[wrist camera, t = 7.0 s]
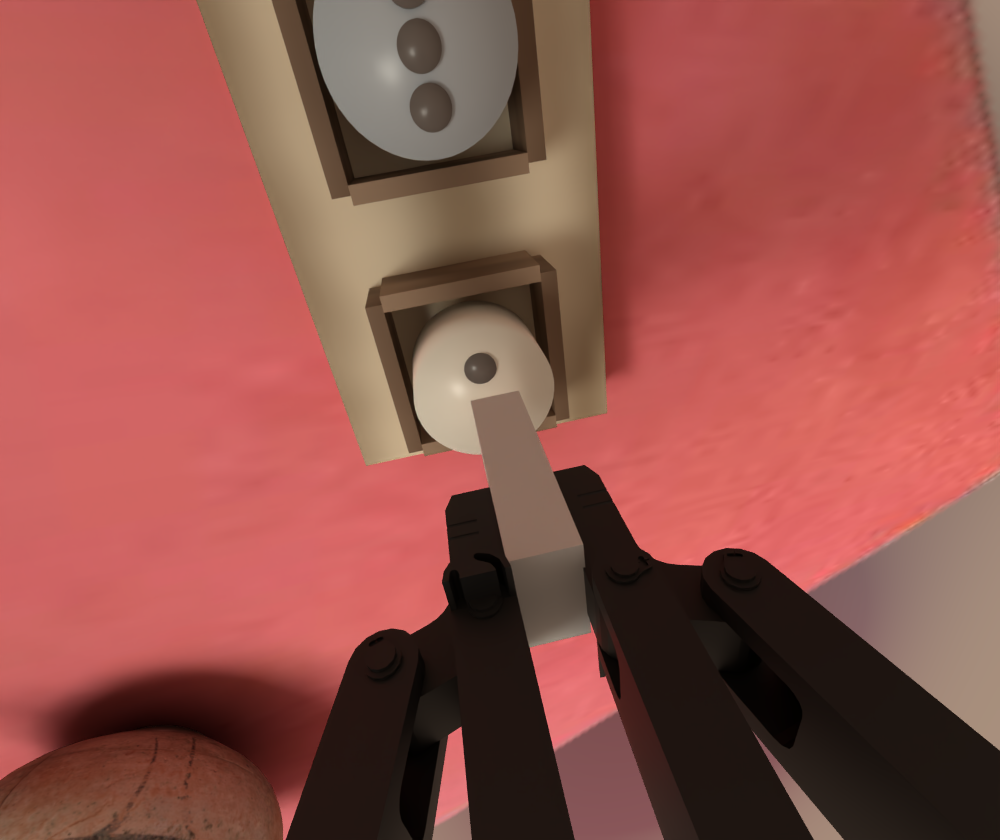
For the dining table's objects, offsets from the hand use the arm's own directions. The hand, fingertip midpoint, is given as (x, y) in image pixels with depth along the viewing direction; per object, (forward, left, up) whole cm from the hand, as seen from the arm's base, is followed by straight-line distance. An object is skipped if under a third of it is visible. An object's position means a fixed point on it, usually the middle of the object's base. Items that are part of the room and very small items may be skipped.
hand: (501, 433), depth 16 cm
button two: (0, 0, -5) cm, 5 cm away
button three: (0, +10, -5) cm, 11 cm away
